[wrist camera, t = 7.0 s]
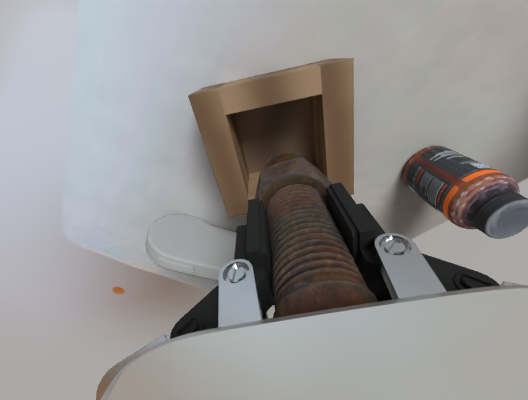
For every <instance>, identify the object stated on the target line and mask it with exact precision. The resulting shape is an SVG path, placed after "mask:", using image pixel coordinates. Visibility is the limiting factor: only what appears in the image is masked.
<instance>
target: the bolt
mask: <svg viewBox="0 0 528 400" xmlns="http://www.w3.org/2000/svg"><path fill="white" fill-rule="evenodd" d="M265 167H266V168H264V170H263V171H261V172H260V175H259V179H258V184H257V190H256V195H255V199H256V198H258V199H259V201H260V200H263V203H264V207H265V211H266V215H267V220H268V230H269V240H270V254H271V259H272V272H273V274H272V278H273V290H274V302H275V313H274V316H273V318H277V317H283V316H289V315H296V314H302V313H308V312H315V311H321V310H328V309H334V308H341V307H347V306H354V305H360V304H366V303H373V302H378V300H377V298H376V297H375V296H374V294H373V293H372V292H371V291H370V290H369V289H368V288H367V285H366V283H365V282H364V280H363V277H362V275H361V273H360V272H359V269H358V267H357V266H356V264H355V262H354V259H353V257H352V255H351V254H350V252H349V249H348V247H347V245H346V243H345V240H344V239H343V237H342V235H341V233H340V231H339V229H338V227H337V225H336V223H335V221H334V219H333V217H332V215H331V213H330V212H329V210H328V208H327V199H326V188H328V187H329V185H330V184H332V182H331V181H330V180H329V179H328V178H327V177H326V176H324V175H323V174H322V173H321V172H320V171H319V170H318V169H317V168H316V167H314V166H313V165H312V164H311V163H310V162H308V161H307V160H305V159H304V158H303V157H299V156H297V155H295V154H289V153H284V154H281V155H276V156H272V157H271V158H269V159H268V160H267V162H266V164H265Z"/></svg>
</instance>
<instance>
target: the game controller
mask: <svg viewBox="0 0 528 400" xmlns="http://www.w3.org/2000/svg"><path fill="white" fill-rule="evenodd" d="M236 235H237V233H236V232H233V231H229V230H225V229H221V228H218V227H214V226H211V225H209V224H207V223H206V222H204V221H203V220H201V219H199V218H196V217H193V216H189V215H182V214H175V215H168V216H164V217H162V218H160V219H158V220H156V221H155V222H154V223H153V224H152V225H151V226H150V228H149V230H148V233H147V239H146V251H147V253H148V255H149V257H150V258H151V259H152V260H153V261H154V262H155V263H156V264H158V265H159V266H161V267H163V268H166V269H169V270H173V271H177V272H181V273H186V274H190V275H195V276H199V277H204V278H209V279H213V280H218V281H219V273H220V271H221V269H222V268H223V267H224V266H225V265H226V264H227V263H229V262H230V261H233V260H234V255H235V245H236Z"/></svg>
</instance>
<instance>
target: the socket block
mask: <svg viewBox="0 0 528 400" xmlns="http://www.w3.org/2000/svg"><path fill="white" fill-rule="evenodd" d="M188 97H189V100H190V103H191V106H192V109H193V112H194V115H195V118H196V121H197V123H198V126H199V129H200V132H201V135H202V138H203V141H204V144H205V147H206V150H207V153H208V156H209V159H210V162H211V165H212V168H213V171H214V174H215V177H216V180H217V183H218V186H219V189H220V192H221V195H222V198H223V200H224V203H225V206H226V209H227V212H228V215H229V217H233V216H238V215H244V214H248V200H251V199H255V195H256V190H257V184H258V179H259V175H260V172H261V171H263V170H264V168H266V167H265V164H266V162H267V160H268V159H269V158H271V157H272V156H276V155H281V154H284V153H289V154H295V155H297V156H299V157H303V158H304V159H305V160H307V161H308V162H310V163H311V164H312V165H313V166H314V167H316V168H317V169H318V170H319V171H320V172H321V173H322V174H323V175H324V176H326V177H327V178H328V179H329V180H330V181H331V182H332V184H334V183H339V182H341V183H342V185H343V186H344V187H345V189H346V190H347V192H348V193H349V194H350V195H352V194H354V60H353V58H343V59H328V60H324V61H319V62H315V63H310V64H306V65H302V66H297V67H293V68H288V69H284V70H280V71H275V72H271V73H266V74H262V75H258V76H253V77H249V78H244V79H240V80H236V81H231V82H227V83H223V84H218V85H214V86H209V87H205V88H202V89H200V90H198V91H196V92H194V93H192V94H190V95H189V96H188Z"/></svg>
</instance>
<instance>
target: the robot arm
mask: <svg viewBox="0 0 528 400" xmlns="http://www.w3.org/2000/svg"><path fill="white" fill-rule="evenodd" d="M326 199H327V208H328V210H329V212H330V213H331V215H332V217H333V219H334V221H335V223H336V225H337V227H338V229H339V231H340V233H341V235H342V237H343V239H344V240H345V243H346V245H347V247H348V249H349V252H350V254H351V255H352V257H353V259H354V262H355V264H356V266H357V267H358V269H359V272H360V273H361V275H362V277H363V280H364V282H365V283H366V285H367V288H368V289H369V290H370V291H371V292H372V293H373V294H374V296H375V297H376V298H377V300H378V302H373V303H366V304H360V305H354V306H347V307H341V308H334V309H328V310H321V311H315V312H308V313H302V314H296V315H289V316H283V317H277V318H271V319H268V315H267V311H268V309H269V308H270V307H271V306H272V305H275V302H274V290H273V278H272V274H273V272H272V259H271V254H270V240H269V230H268V220H267V215H266V211H265V207H264V203H263V200H260V201H259V199H258V198H256V199H251V200H248V214H247V225H242V226H238V227H237V235H236V245H235V255H234V260H233V261H230V262H229V263H227V264H226V265H225V266H224V267H223V268H222V269H221V271H220V273H219V285H218V286H217V287H216V288H214V289H213V290H212V291H211V292H210V293H209V294H208V295H207V296H206V297H204V298H203V299H202V300H201V301H200V302H199V303H198V304H197V305H196V306H194V307H193V308H192V309H191V310H190V311H189V312H188V313H187V314H185V315H184V316H183V317H182V318H181V319H180V320H179V321H178V322H177V323H176V324H175V326H174V328H173V329H172V332H171V334H169V335H167V336H165V334H164V335H162V336H160V337H159V338H157V339H155V340H154V341H152V342H151V343H149V344H148V345H146V346H144V347H143V348H141V349H140V350H138V351H136V352H135V353H133V354H132V355H130V356H129V357H127V358H125V359H124V360H122V361H121V362H119V363H117V364H116V365H115V366H113V367H112V368H111V369H110V370H109V371H108V372H107V373H106V374H105V375H104V376H103V378H102V380H101V382H100V384H99V386H98V389H97V395H96V400H528V286H525V285H520V284H515V283H509V282H504V281H503V283H502V284H498V283H497V282H496V281H495V280H493V279H492V278H490V277H488V276H487V275H484V274H482V273H479V272H477V271H474V270H471V269H467V268H465V267H462V266H458V265H455V264H452V263H449V262H446V261H443V260H440V259H437V258H434V257H431V256H428V255H425V254H422V253H421V252H420V251H419V249H418V248H417V246H416V245H415V243H414V242H413V241H412V240H411V239H409V238H408V237H406V236H404V235H401V234H396V233H385V232H384V231H383V229H382V228H381V227H380V225H379V224H378V223H377V221H376V220H375V219H374V217H373V216H372V215H371V213H370V212H369V211H368V210H367V208H366V207H365V206H364V205H363V204H362V203H361V204H356V203H355V201H354V200H353V199H352V197H351V196H350V194H349V193H348V192H347V190H346V189H345V187H344V186H343V185H342V183H341V182H339V183H334V184H330V185H329V187H328V188H326Z"/></svg>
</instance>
